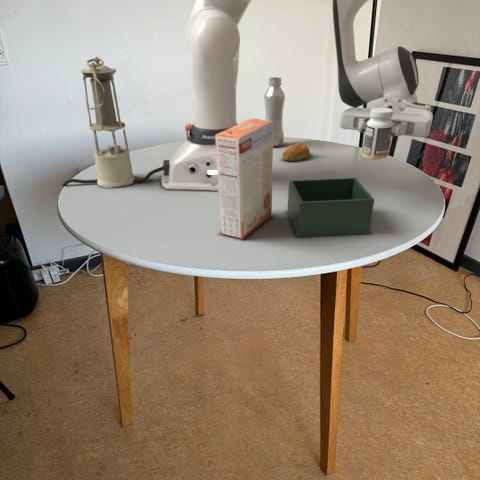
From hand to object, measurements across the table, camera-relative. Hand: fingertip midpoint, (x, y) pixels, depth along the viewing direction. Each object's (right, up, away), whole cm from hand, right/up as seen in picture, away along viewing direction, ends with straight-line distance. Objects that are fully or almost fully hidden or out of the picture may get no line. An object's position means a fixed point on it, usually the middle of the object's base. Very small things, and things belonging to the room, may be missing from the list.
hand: (378, 130), depth 100 cm
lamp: (-64, -4, +25) cm, 69 cm away
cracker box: (-29, -20, +3) cm, 35 cm away
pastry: (-13, +8, +42) cm, 44 cm away
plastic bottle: (-19, +16, +53) cm, 58 cm away
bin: (-11, -19, +3) cm, 23 cm away
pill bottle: (0, -5, +4) cm, 6 cm away
